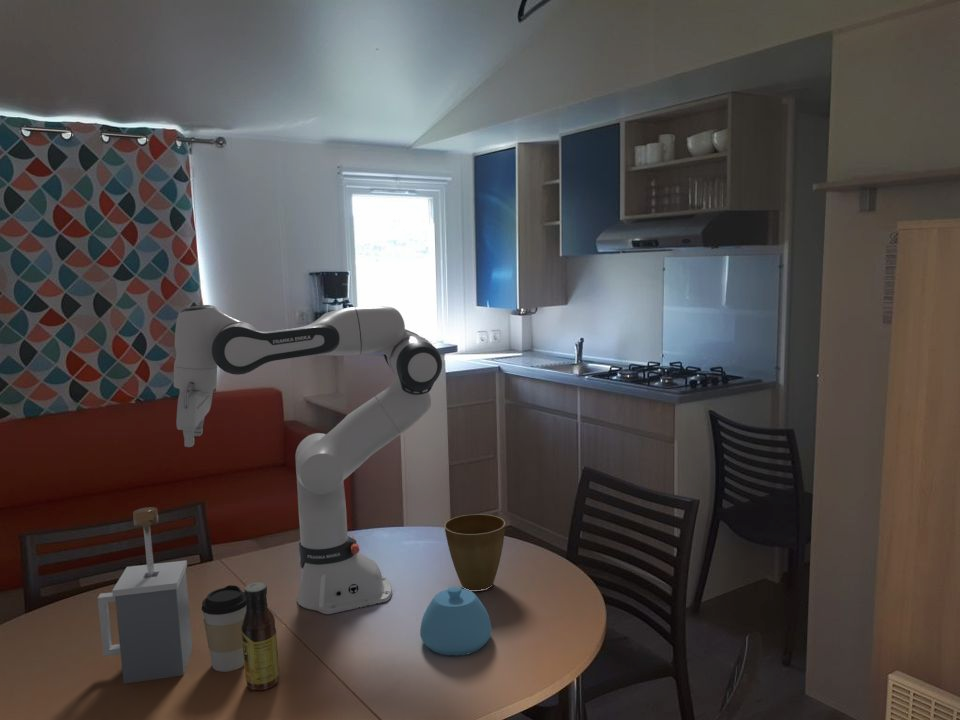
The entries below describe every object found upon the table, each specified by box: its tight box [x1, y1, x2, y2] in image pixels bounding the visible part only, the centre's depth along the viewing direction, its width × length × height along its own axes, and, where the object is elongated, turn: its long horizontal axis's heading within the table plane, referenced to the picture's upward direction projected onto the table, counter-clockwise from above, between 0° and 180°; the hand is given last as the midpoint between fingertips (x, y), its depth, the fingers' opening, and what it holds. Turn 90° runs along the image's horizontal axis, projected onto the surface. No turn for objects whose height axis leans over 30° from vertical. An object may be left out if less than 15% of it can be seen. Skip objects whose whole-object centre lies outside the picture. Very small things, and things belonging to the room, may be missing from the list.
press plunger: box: [132, 506, 159, 578], centre depth 148 cm, size 4×4×21 cm
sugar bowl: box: [419, 586, 493, 656], centre depth 156 cm, size 15×15×12 cm
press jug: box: [97, 560, 193, 685], centre depth 149 cm, size 16×12×19 cm
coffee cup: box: [201, 584, 247, 673], centre depth 150 cm, size 9×9×15 cm
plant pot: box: [443, 513, 506, 590], centre depth 182 cm, size 15×15×16 cm
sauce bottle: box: [241, 581, 280, 691], centre depth 142 cm, size 7×6×20 cm
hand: (193, 440), depth 164 cm, fingers open, 8 cm apart
